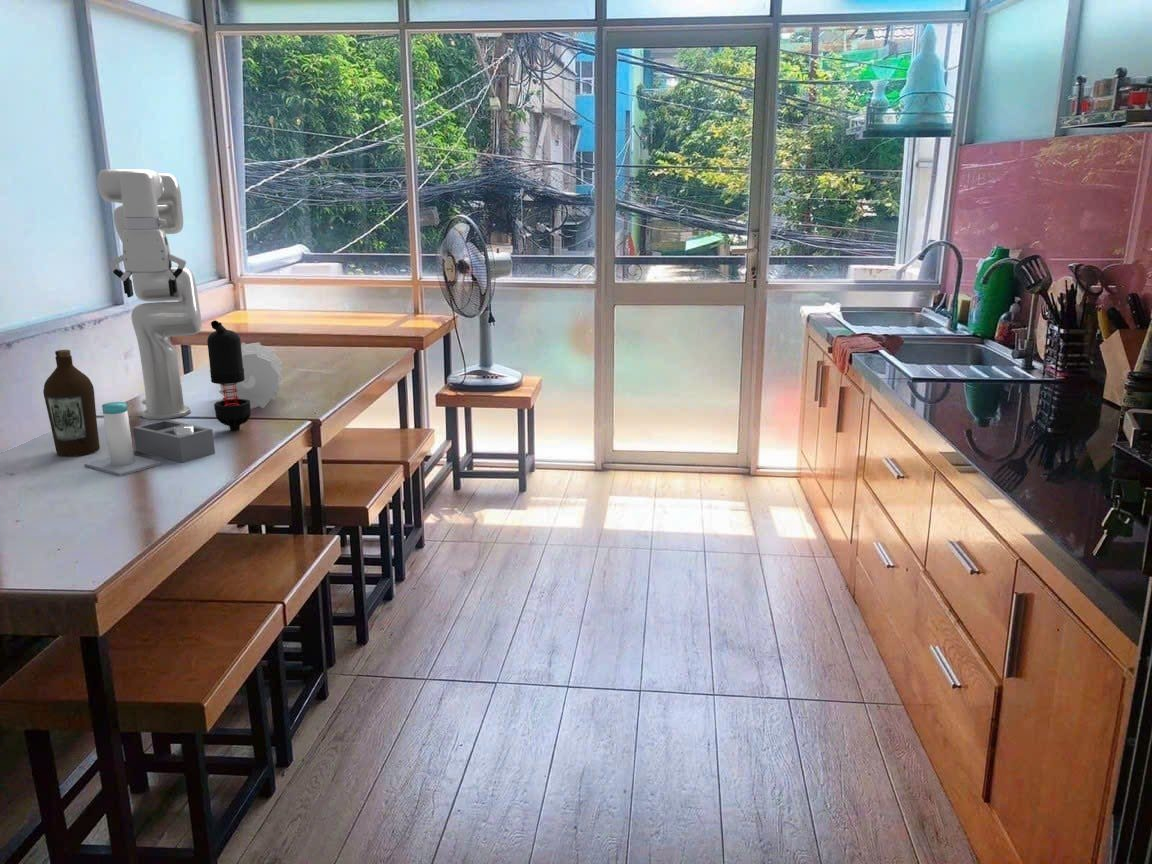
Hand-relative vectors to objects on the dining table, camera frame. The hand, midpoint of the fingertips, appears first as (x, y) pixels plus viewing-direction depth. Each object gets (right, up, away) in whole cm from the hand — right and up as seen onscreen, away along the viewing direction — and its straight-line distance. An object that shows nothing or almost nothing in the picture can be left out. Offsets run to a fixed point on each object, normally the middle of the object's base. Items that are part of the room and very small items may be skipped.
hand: (151, 296), depth 219 cm
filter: (+13, -33, +21) cm, 41 cm away
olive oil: (-18, -38, +1) cm, 42 cm away
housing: (+6, -38, 0) cm, 39 cm away
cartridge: (-2, -40, -10) cm, 42 cm away
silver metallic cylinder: (+10, -37, -3) cm, 38 cm away
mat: (-2, -41, -10) cm, 42 cm away
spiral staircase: (+7, -25, +49) cm, 55 cm away
